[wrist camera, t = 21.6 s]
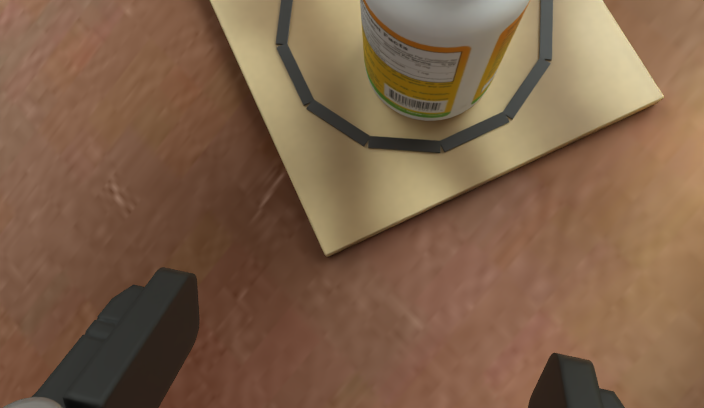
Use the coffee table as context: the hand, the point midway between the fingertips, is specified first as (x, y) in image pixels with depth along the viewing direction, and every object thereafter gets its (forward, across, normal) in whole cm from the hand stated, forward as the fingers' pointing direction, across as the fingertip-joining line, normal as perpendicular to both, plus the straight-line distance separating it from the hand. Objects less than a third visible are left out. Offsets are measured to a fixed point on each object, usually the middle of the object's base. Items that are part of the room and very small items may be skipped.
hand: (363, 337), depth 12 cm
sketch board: (+15, +1, -3) cm, 16 cm away
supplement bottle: (+14, 0, -2) cm, 14 cm away
